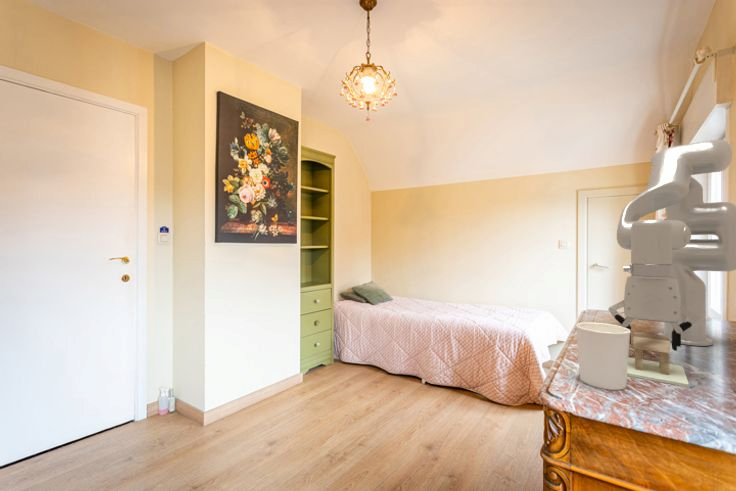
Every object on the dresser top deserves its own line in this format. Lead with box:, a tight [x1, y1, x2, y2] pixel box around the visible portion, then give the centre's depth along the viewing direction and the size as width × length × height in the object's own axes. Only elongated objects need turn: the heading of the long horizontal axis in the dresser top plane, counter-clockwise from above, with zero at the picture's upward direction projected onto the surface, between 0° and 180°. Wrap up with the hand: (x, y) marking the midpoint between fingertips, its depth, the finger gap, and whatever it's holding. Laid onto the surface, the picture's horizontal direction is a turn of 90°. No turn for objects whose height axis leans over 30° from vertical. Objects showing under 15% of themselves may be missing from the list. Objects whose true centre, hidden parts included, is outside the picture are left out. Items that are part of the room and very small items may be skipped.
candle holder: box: [575, 321, 632, 391], centre depth 74 cm, size 10×10×12 cm
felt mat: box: [627, 357, 690, 388], centre depth 81 cm, size 14×12×1 cm
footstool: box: [633, 331, 671, 375], centre depth 81 cm, size 6×6×8 cm
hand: (651, 345), depth 81 cm, fingers open, 7 cm apart
